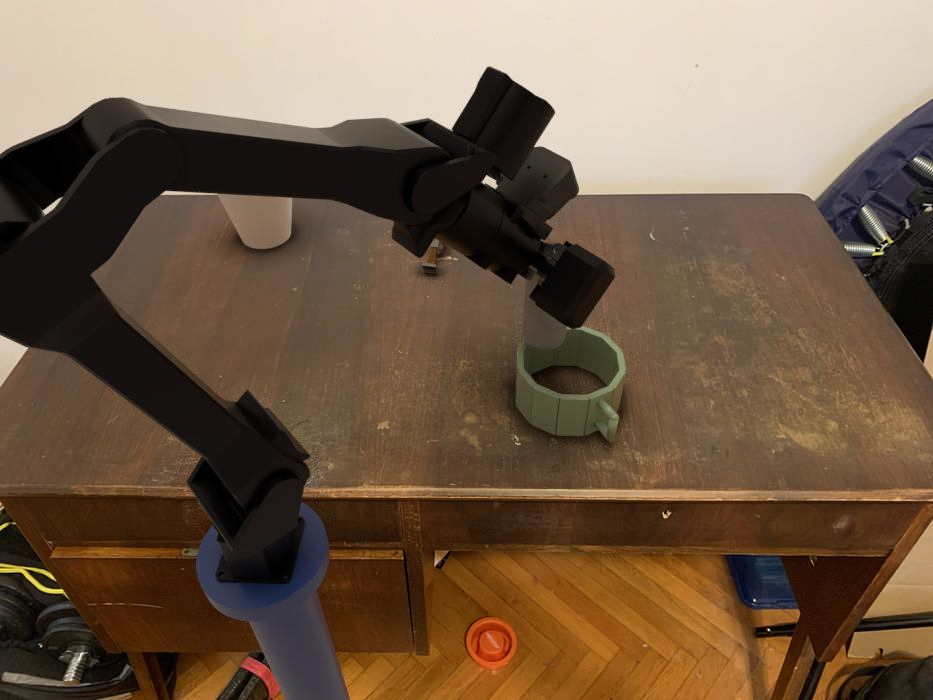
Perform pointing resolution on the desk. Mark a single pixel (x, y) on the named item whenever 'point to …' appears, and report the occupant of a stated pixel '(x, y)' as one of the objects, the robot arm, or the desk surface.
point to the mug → (569, 409)
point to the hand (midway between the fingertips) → (558, 276)
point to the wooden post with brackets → (433, 256)
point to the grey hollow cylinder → (540, 320)
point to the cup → (259, 219)
